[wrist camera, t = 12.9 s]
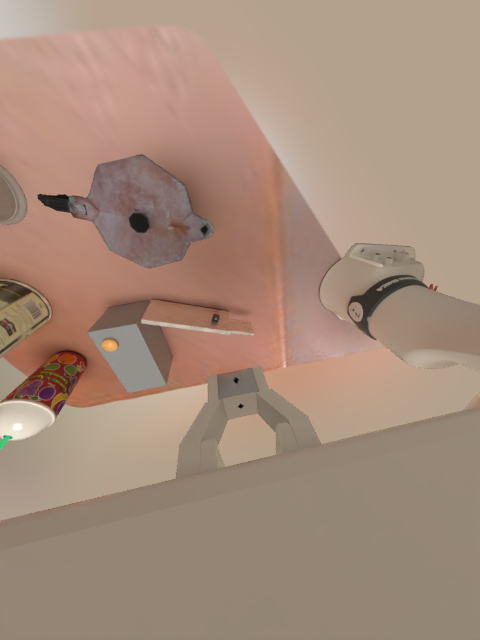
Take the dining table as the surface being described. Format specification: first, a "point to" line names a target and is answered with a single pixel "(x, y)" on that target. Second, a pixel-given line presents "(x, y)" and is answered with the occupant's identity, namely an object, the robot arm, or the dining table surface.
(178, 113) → the dining table surface
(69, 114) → the dining table surface
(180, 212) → the moka pot
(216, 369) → the dining table surface
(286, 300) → the dining table surface
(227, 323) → the side door
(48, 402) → the smoothie
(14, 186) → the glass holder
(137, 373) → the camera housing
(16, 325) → the coffee can
